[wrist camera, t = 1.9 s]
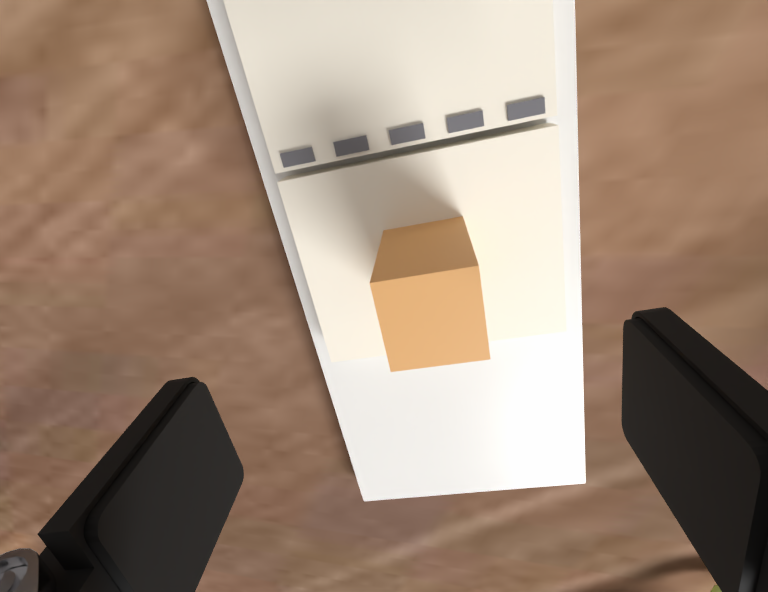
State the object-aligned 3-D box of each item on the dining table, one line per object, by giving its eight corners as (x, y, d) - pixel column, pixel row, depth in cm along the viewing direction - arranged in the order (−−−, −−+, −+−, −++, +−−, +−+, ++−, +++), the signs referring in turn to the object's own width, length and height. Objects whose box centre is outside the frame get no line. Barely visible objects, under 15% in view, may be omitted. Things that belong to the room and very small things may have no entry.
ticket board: (554, -292, 12) (584, -377, 10) (578, 465, 24) (594, 504, 22) (170, -160, 14) (123, -206, 12) (366, 484, 26) (361, 521, 24)
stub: (549, 122, 16) (619, 141, 10) (558, 317, 19) (615, 412, 13) (286, 176, 17) (221, 218, 12) (336, 348, 21) (304, 445, 15)
